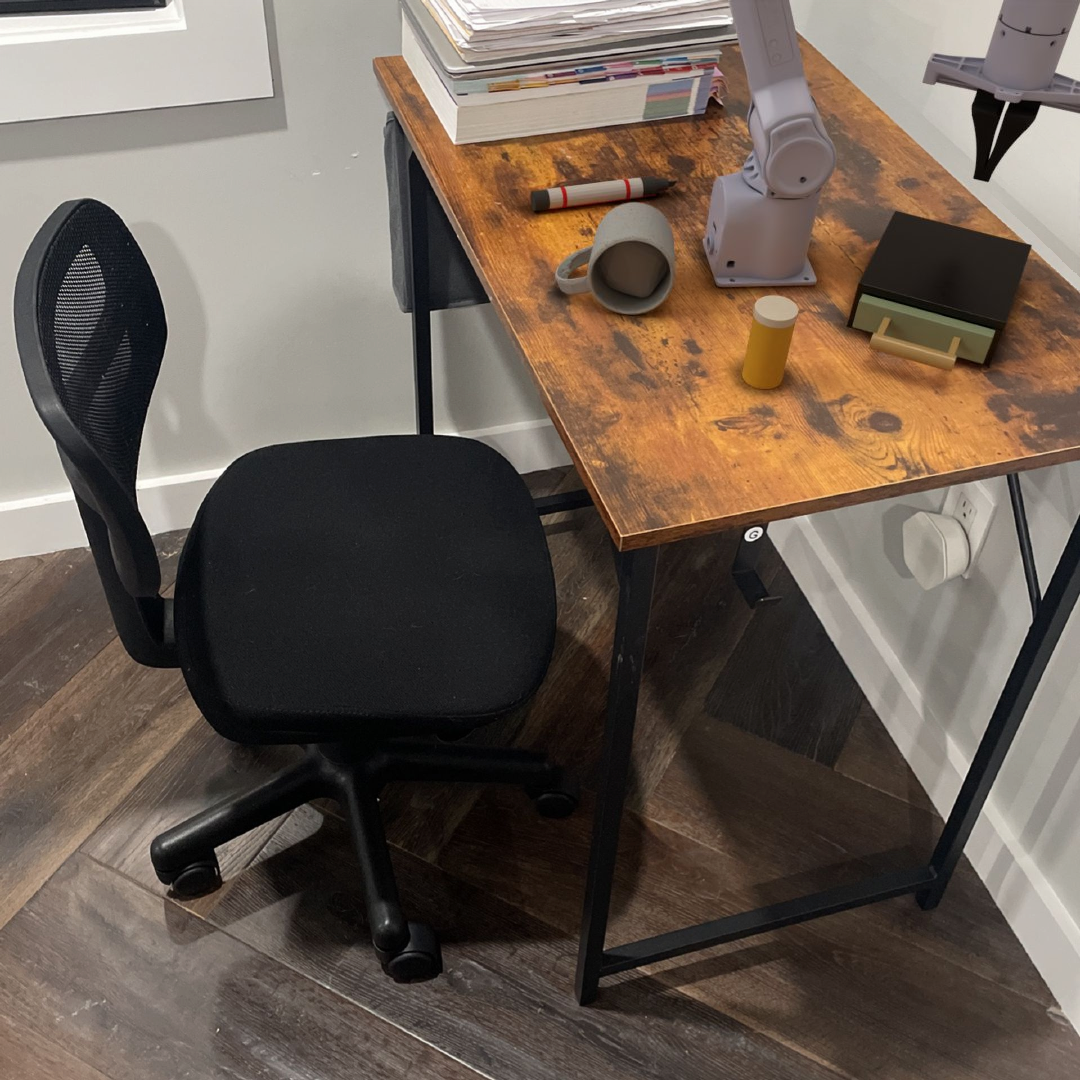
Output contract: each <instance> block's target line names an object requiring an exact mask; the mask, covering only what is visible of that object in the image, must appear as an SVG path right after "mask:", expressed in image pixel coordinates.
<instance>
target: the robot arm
mask: <svg viewBox="0 0 1080 1080" xmlns="http://www.w3.org/2000/svg"><path fill="white" fill-rule="evenodd" d="M727 1H728V2H727V3H728V5H729V9H730V13H731V18H732V21H733V25H734V31H735V33H736V37H737V41H738V45H739V50H740V53H741V57H742V61H743V62H742V63H743V65H744V69H745V73H746V77H747V86H748V90H749V95H750V103H749V108H748V111H747V116H746V128H747V132H748V135H749V137H750V138H751V140H752V143H753V149H752V150H751V152H750V153H749V155H748V156H747V158H746V160H745V162H744V164H743V168H742V169H740V170H738V171H736V172H734V173H733V172H732V173H729V174H724V175H723V174H722V175H719V176H717V177H716V178H715V179H714V182H713V185H712V189H711V195H710V201H709V209H708V215H707V221H706V228H705V234H704V237H703V238H702V245H703V248H704V253H705V255H706V258H707V261H708V264H709V267H710V271H711V273H712V277H713V280H714V283H715V285H716V286H717V287H720V288H734V287H735V288H737V287H739V288H741V287H742V288H743V287H744V288H745V287H784V286H785V287H787V286H788V287H789V286H790V287H791V286H792V287H793V286H815V285H816V284H817V281H818V278H817V276H816V274H815V271H814V269H813V267H812V265H811V262H810V260H809V257H808V253H809V248H810V243H811V238H812V235H813V231H814V225H815V222H816V217H817V212H818V209H819V204H820V200H821V195H822V191H823V187H824V186H825V185H826V184H827V183H828V181H829V180H830V179H831V178H832V176H833V174H834V172H835V169H836V165H837V161H838V159H837V158H838V157H837V156H838V154H837V149H836V146H835V144H834V141H832V139H831V138H830V137H829V135H828V133H827V130H826V127H825V125H824V123H823V120H822V118H821V115H820V113H819V108H818V104H817V100H816V98H815V97H814V95H813V93H812V92H811V90H810V87H809V84H808V81H807V77H806V73H805V68H804V63H803V59H802V54H801V49H800V43H799V39H798V35H797V30H796V25H795V21H794V15H793V12H792V7H791V3H790V0H727ZM1079 7H1080V0H1003V1H1002V3H1001V6H1000V10H999V13H998V16H997V19H996V23H995V25H994V28H993V29H994V30H993V31H992V34H991V38H990V42H989V45H988V47H987V48H988V49H987V51H986V55H985V57H975V56H963V55H962V56H961V55H949V54H943V53H938V52H937V53H936V52H932V54H930V57H929V59H928V61H927V64H926V67H925V71H924V75H923V78H922V84H926V85H929V86H930V85H931V86H934V85H936V84H940V85H941V84H942V85H946V86H950V87H955V88H960V89H964V90H969V91H974V92H976V93H975V95H974V98H973V102H972V103H971V107H970V109H971V118H972V124H973V129H974V135H975V165H974V171H973V172H974V173H973V177H972V178H973V180H976V181H981V182H985V183H989V182H990V181H991V178H992V176H993V173H994V172H995V170H996V168H997V166H998V165H999V163H1000V162H1001V160H1002V159H1003V158H1004V156H1005V155H1006V154H1007V152H1008V151H1009V150H1010V149H1011V147H1012V146H1013V145H1014V144H1015V142H1016V141H1017V140H1018V139H1019V138H1020V137H1021V136H1022V135H1023V134H1024V133H1025V132H1026V131H1027V130H1028V129H1029V128H1030V127H1031V125H1032V124H1033V123H1034V122H1035V120H1036V119H1037V116H1038V113H1039V111H1040V108H1041V106H1043V107H1046V108H1047V107H1048V108H1052V109H1057V110H1061V111H1065V112H1070V113H1075V114H1079V115H1080V80H1077V79H1074V78H1072V77H1069V76H1066V75H1064V74H1061V73H1058V72H1056V71H1057V68H1058V65H1059V62H1060V59H1061V57H1062V54H1063V51H1064V48H1065V46H1066V44H1067V40H1068V38H1069V34H1070V32H1071V29H1072V27H1073V23H1074V21H1075V18H1076V16H1077V13H1078V10H1079ZM1006 103H1008V105H1007V107H1006V110H1005V112H1004V108H1005V106H1006ZM1003 112H1004V115H1003V118H1002V121H1001V125H1000V128H999V130H998V134H997V138H996V140H995V137H996V132H997V129H998V127H999V123H1000V120H1001V117H1002V114H1003ZM994 140H995V143H994ZM993 144H994V146H993ZM992 147H993V149H992Z"/></svg>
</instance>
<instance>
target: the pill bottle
mask: <svg viewBox="0 0 1080 1080" xmlns="http://www.w3.org/2000/svg"><path fill="white" fill-rule="evenodd" d="M753 306H754V307H753V311H752V314H753V315H752V319H751V326H750V329H749V330H750V331H749V335H748V341H747V345H746V351H745V356H744V361H743V365H742V366H743V368H742V371H741V376H742V378H743V381H744V382H745V383H746V384H747V385H748V386H751V387H752V388H756V389H760V390H771V389H775V388H777V387H779V386H780V385H781V384H782V381H783V378H784V374H785V369H786V366H787V360H788V356H789V352H790V348H791V343H792V339H793V334H794V330H795V326H796V322H797V320H798V316H799V307H798V305H797V304H796V303H795V301H793V300H791V299H790V298H788V297H785V296H782V295H773V294H771V295H765V296H762V297H760V298H758V299H757V300H756V301H755V302H754V305H753Z"/></svg>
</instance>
